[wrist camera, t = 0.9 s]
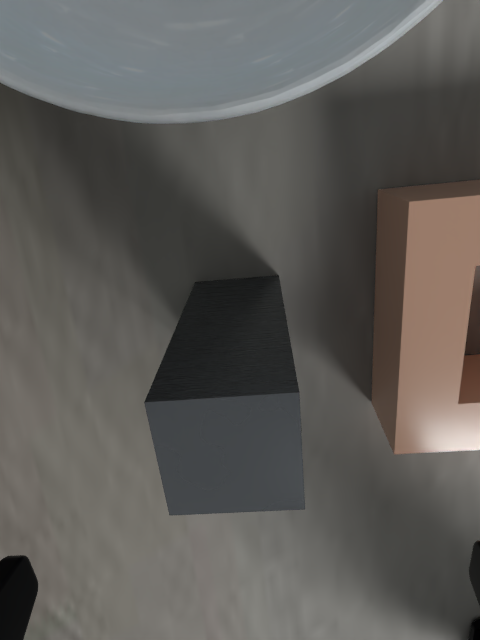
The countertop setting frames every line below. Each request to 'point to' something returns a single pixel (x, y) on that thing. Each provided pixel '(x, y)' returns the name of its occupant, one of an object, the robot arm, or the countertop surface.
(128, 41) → the serving bowl
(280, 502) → the tall grey square pillar
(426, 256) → the orange square socket block
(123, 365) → the countertop surface
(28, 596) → the robot arm
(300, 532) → the countertop surface
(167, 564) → the countertop surface
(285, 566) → the countertop surface
